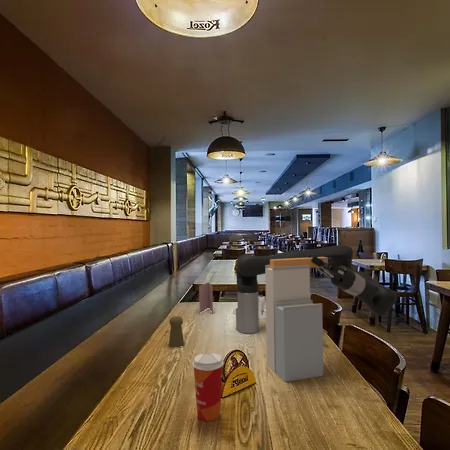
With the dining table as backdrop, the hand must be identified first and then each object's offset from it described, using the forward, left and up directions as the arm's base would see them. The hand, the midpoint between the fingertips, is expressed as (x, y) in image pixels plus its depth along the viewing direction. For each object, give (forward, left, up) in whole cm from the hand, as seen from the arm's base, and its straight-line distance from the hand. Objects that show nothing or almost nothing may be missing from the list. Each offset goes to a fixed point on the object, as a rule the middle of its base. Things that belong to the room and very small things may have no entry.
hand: (310, 258), depth 113 cm
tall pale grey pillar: (-4, -7, -35) cm, 36 cm away
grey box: (+2, -11, -35) cm, 37 cm away
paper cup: (-3, -45, -35) cm, 57 cm away
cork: (-47, -20, -35) cm, 62 cm away
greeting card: (-72, +22, -35) cm, 83 cm away
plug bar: (-2, -3, -3) cm, 5 cm away
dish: (-52, +37, -36) cm, 73 cm away
